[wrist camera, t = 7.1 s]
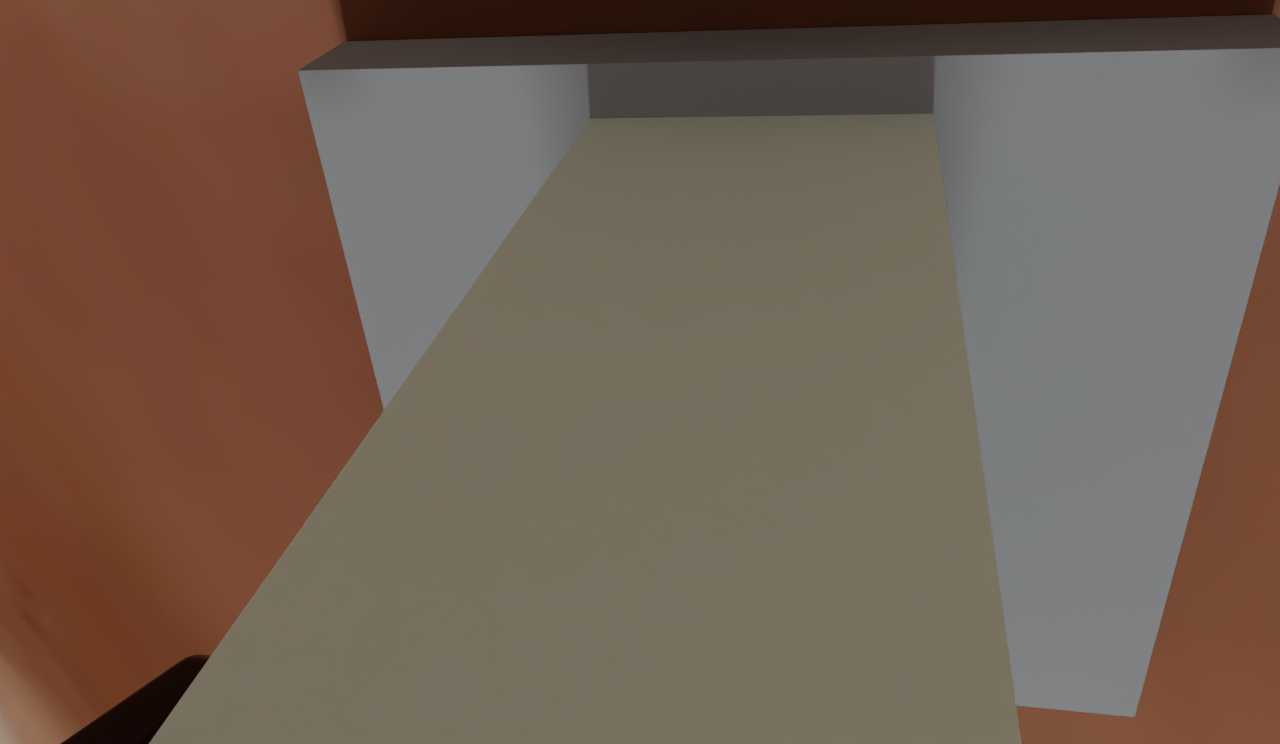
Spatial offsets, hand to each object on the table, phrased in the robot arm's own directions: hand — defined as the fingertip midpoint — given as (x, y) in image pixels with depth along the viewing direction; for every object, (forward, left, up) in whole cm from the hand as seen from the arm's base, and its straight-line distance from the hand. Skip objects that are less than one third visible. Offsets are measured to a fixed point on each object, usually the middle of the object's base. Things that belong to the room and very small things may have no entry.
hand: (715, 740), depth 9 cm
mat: (0, 0, -6) cm, 6 cm away
